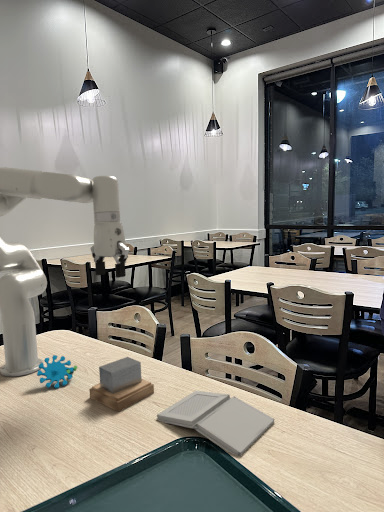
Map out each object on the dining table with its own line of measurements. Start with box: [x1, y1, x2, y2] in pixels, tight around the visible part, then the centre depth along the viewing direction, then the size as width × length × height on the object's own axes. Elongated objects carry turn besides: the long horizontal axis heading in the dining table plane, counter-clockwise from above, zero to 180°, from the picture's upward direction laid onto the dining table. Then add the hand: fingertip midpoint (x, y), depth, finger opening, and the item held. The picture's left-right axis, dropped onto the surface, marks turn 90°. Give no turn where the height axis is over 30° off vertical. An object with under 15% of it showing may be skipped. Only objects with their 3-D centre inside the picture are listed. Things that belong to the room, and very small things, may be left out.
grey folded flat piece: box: [156, 390, 275, 457], centre depth 81 cm, size 23×15×4 cm, turn 51°
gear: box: [36, 354, 78, 389], centre depth 104 cm, size 11×6×10 cm
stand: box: [88, 378, 155, 413], centre depth 94 cm, size 12×12×3 cm
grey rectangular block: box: [98, 356, 142, 394], centre depth 94 cm, size 9×6×6 cm, turn 136°
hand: (110, 275), depth 106 cm, fingers open, 9 cm apart
